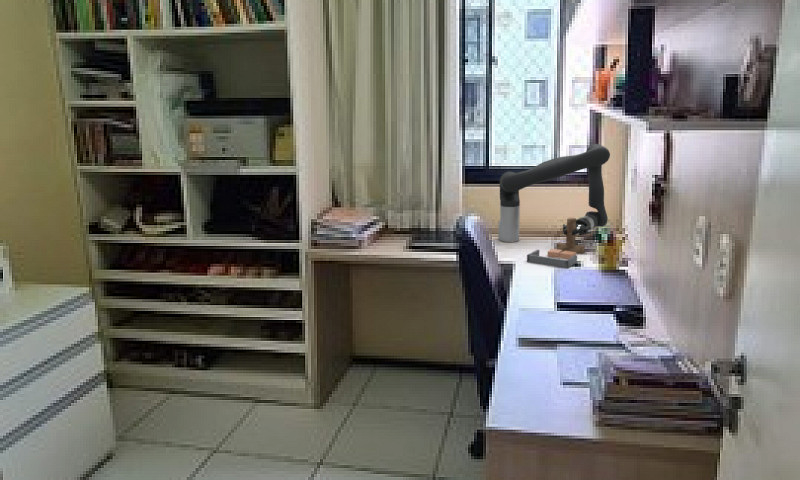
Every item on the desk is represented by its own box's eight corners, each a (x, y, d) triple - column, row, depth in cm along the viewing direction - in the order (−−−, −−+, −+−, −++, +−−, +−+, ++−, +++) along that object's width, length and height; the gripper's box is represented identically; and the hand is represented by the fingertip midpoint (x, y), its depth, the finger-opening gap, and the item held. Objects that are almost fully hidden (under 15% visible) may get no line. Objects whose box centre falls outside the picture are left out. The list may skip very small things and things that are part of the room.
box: (526, 261, 248) (527, 254, 247) (537, 256, 255) (537, 249, 255) (567, 268, 237) (567, 261, 236) (576, 262, 244) (577, 255, 244)
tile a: (547, 257, 255) (547, 251, 254) (550, 254, 259) (551, 248, 258) (558, 258, 252) (558, 252, 252) (562, 255, 256) (562, 249, 256)
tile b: (559, 258, 252) (559, 252, 251) (565, 256, 255) (565, 250, 255) (570, 260, 249) (570, 254, 248) (575, 257, 252) (576, 252, 251)
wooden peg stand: (556, 250, 264) (557, 217, 260) (558, 248, 266) (560, 216, 262) (582, 253, 257) (583, 220, 253) (584, 252, 259) (586, 219, 255)
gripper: (568, 216, 273) (553, 223, 260) (598, 219, 265) (584, 226, 252) (568, 231, 275) (553, 239, 262) (597, 235, 267) (583, 243, 253)
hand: (568, 232), depth 257 cm, fingers closed on wooden peg stand, 3 cm apart
